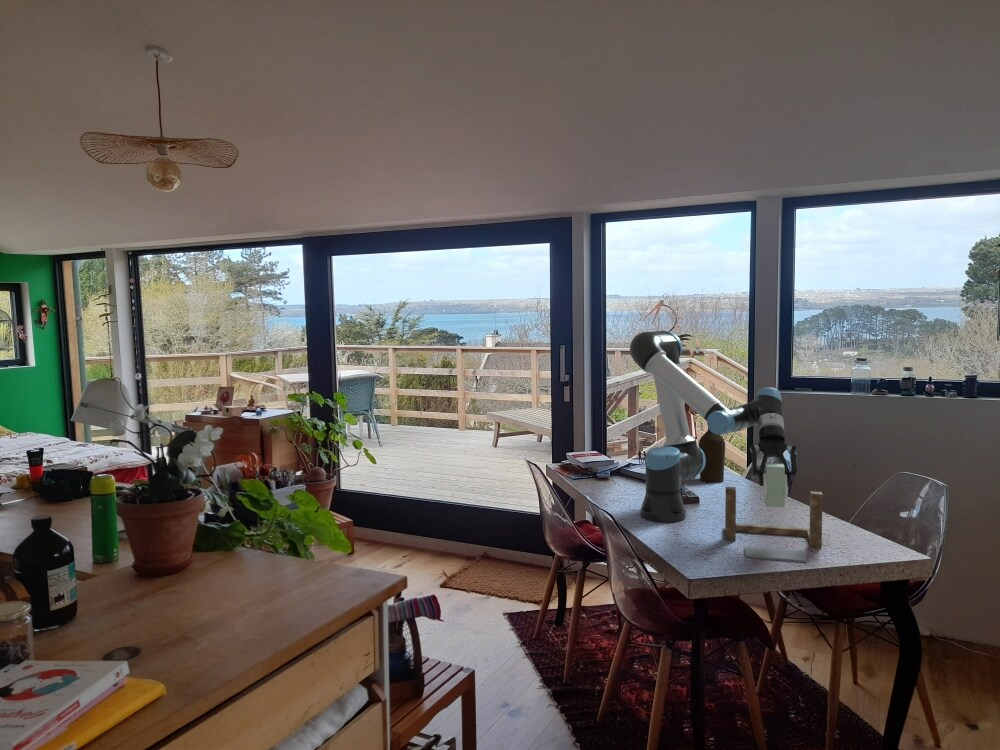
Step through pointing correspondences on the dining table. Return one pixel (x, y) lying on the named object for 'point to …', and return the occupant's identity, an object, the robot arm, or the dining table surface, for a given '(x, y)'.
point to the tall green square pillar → (775, 484)
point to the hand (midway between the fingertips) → (775, 495)
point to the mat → (775, 554)
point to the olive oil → (712, 457)
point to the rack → (812, 534)
